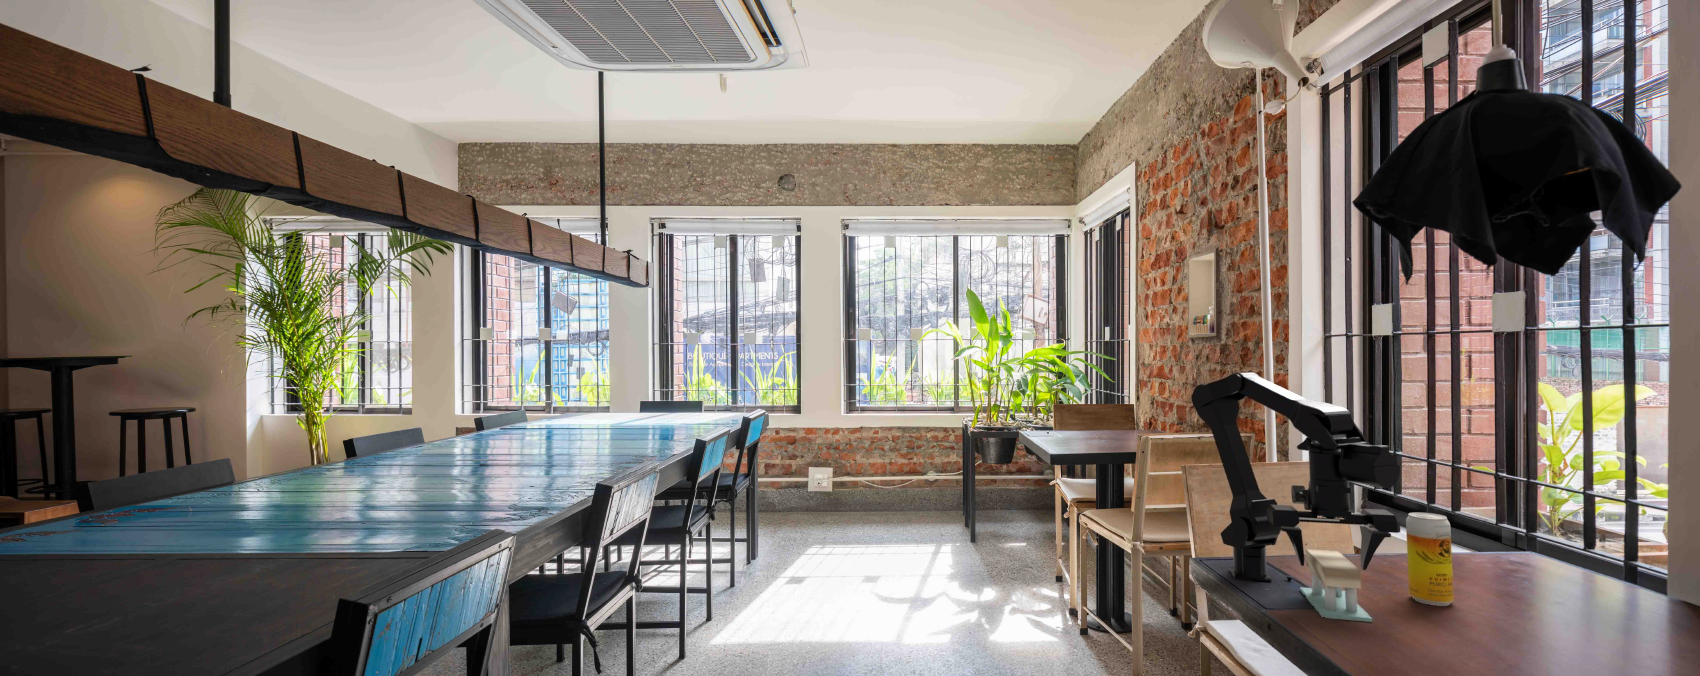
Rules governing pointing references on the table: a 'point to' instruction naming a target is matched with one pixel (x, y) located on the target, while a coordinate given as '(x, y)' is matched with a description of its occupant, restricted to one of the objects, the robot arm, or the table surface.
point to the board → (1333, 568)
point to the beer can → (1429, 558)
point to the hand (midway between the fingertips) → (1332, 567)
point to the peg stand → (1334, 601)
